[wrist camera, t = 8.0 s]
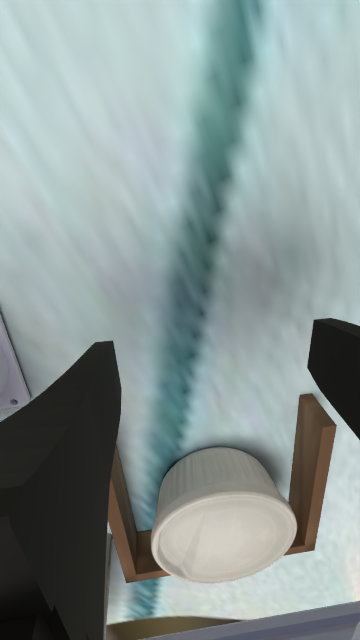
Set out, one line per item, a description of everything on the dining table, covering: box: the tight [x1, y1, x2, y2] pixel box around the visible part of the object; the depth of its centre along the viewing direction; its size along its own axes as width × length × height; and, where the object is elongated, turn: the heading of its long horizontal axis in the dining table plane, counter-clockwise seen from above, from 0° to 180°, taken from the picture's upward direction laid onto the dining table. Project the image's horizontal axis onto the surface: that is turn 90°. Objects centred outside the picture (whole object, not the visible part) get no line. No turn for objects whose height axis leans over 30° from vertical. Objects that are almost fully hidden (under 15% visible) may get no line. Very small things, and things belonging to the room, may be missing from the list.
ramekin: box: [151, 447, 297, 584], centre depth 26 cm, size 11×11×5 cm
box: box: [108, 394, 337, 583], centre depth 26 cm, size 17×15×4 cm
